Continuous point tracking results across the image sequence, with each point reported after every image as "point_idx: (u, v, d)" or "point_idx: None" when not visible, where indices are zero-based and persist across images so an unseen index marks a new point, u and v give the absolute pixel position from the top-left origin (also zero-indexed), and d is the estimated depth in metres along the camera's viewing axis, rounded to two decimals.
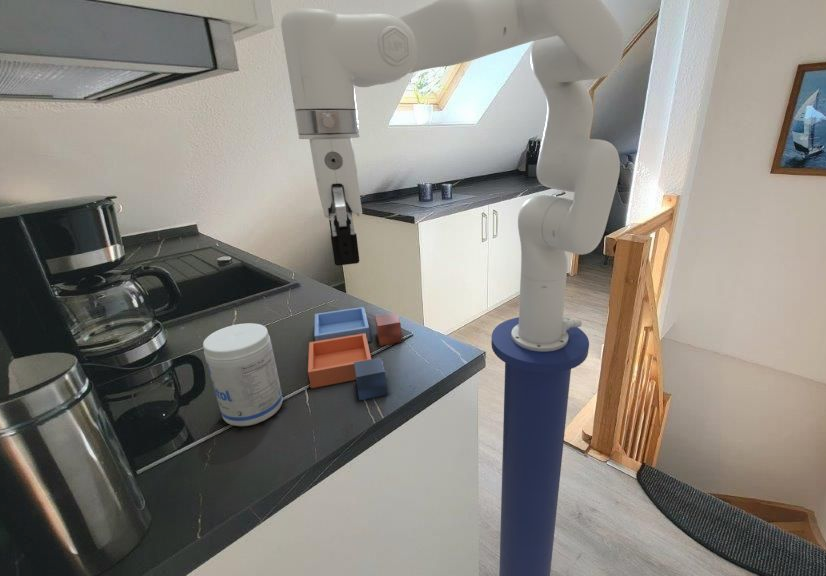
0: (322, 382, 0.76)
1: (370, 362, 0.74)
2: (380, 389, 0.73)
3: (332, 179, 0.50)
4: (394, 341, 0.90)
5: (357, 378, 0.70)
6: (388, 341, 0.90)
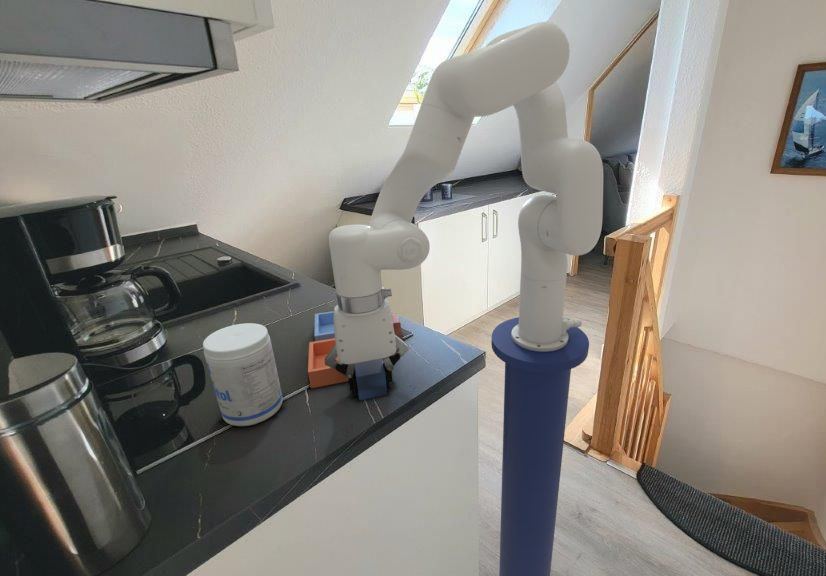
0: (322, 382, 0.76)
1: (370, 362, 0.74)
2: (380, 389, 0.73)
3: (393, 327, 0.71)
4: None
5: (357, 378, 0.70)
6: None
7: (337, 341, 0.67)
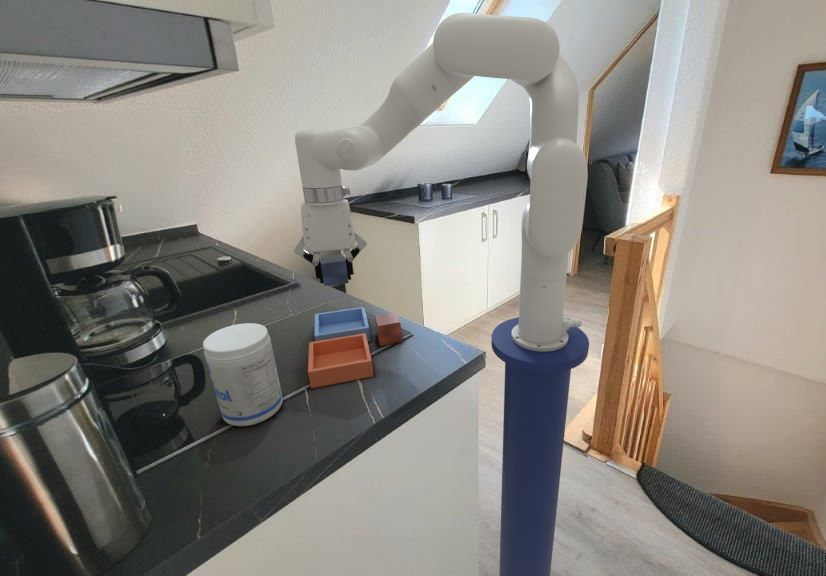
0: (322, 382, 0.76)
1: (334, 256, 0.88)
2: (342, 277, 0.86)
3: (352, 223, 0.84)
4: (394, 341, 0.90)
5: (322, 265, 0.83)
6: (388, 341, 0.90)
7: (304, 229, 0.80)
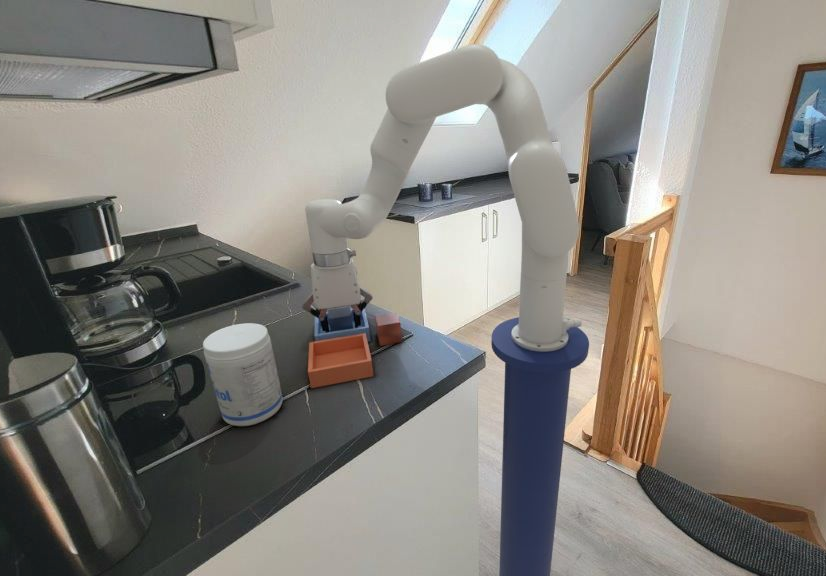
0: (322, 382, 0.76)
1: (341, 309, 0.94)
2: None
3: (358, 281, 0.91)
4: (394, 341, 0.90)
5: (329, 320, 0.90)
6: (388, 341, 0.90)
7: (313, 290, 0.87)
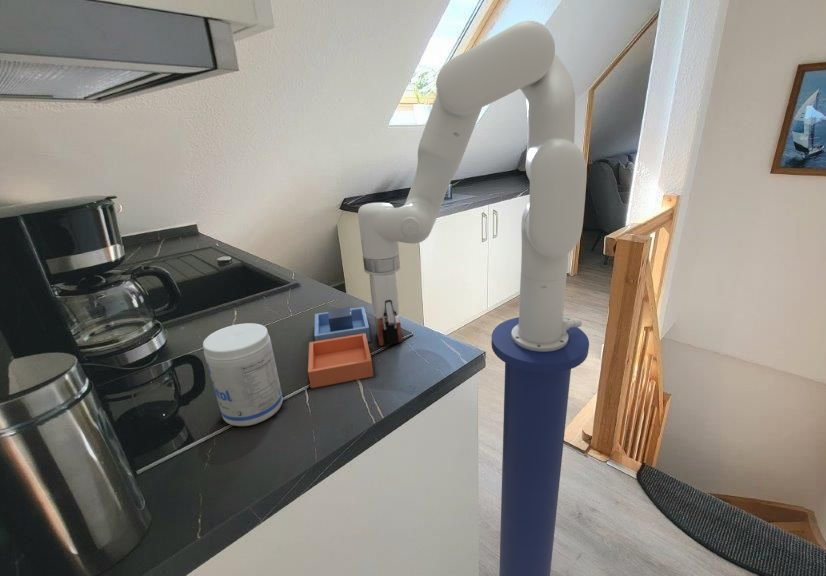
0: (322, 382, 0.76)
1: (341, 309, 0.94)
2: None
3: None
4: None
5: (329, 320, 0.90)
6: None
7: (396, 296, 0.84)
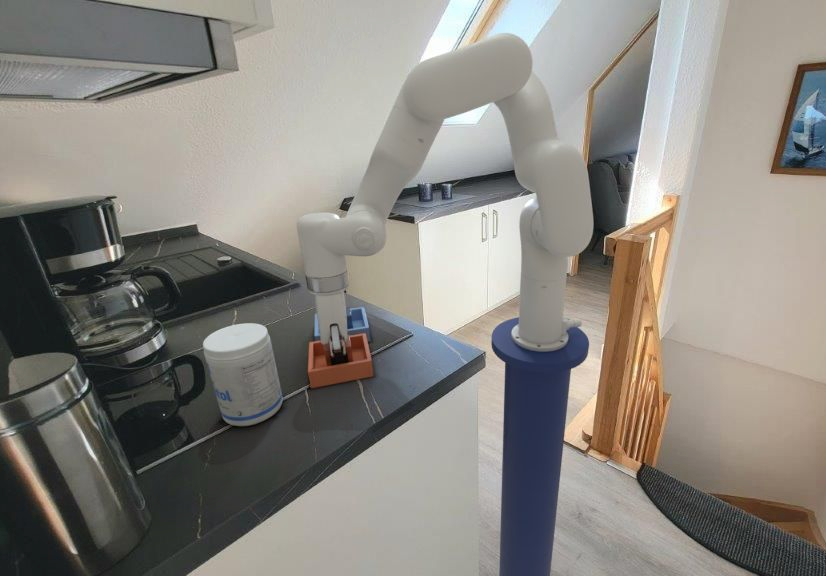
0: (322, 382, 0.76)
1: None
2: None
3: None
4: None
5: None
6: None
7: (344, 319, 0.74)
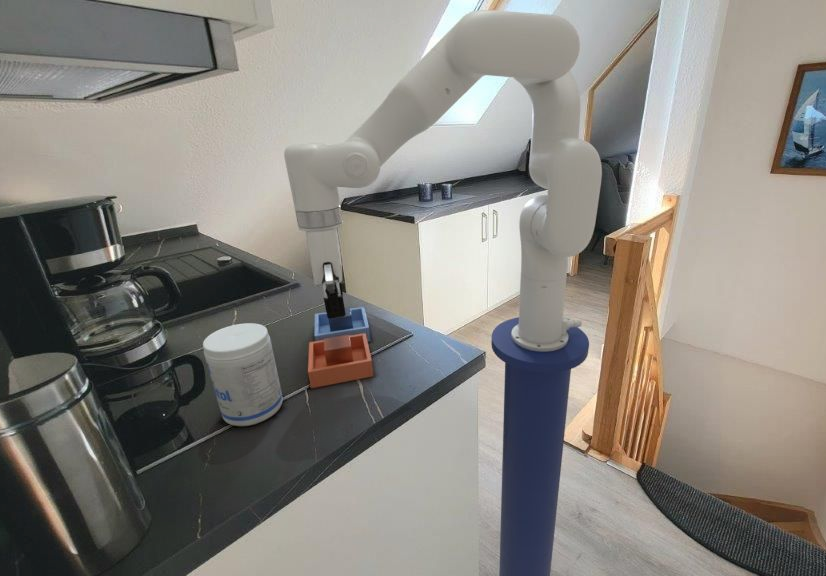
0: (322, 382, 0.76)
1: None
2: None
3: None
4: None
5: (329, 320, 0.90)
6: None
7: (337, 258, 0.70)
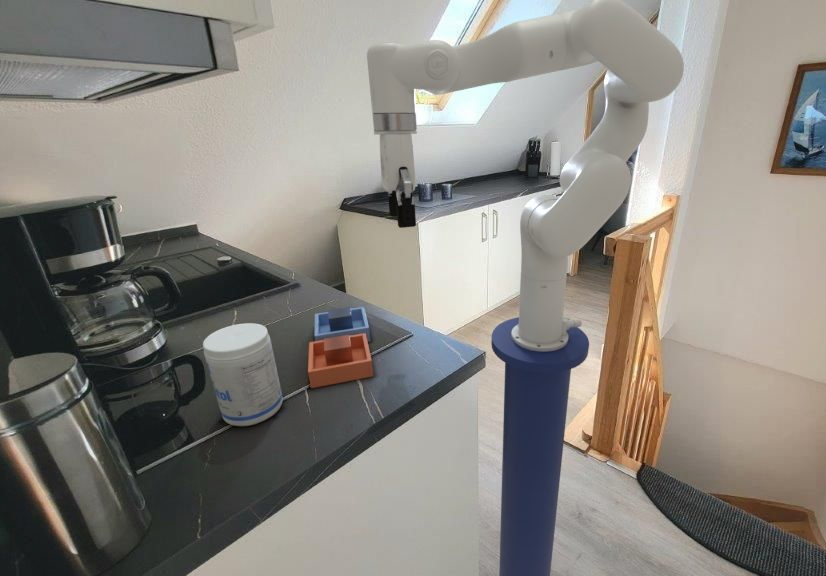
0: (322, 382, 0.76)
1: (341, 309, 0.94)
2: None
3: None
4: None
5: (329, 320, 0.90)
6: None
7: (413, 163, 0.70)
